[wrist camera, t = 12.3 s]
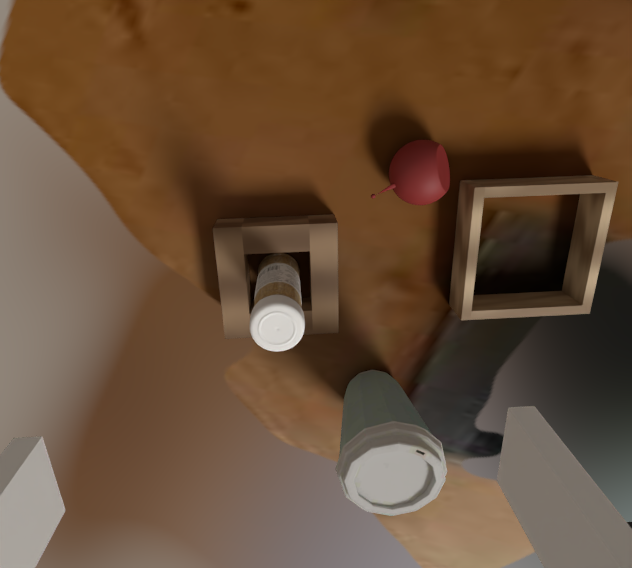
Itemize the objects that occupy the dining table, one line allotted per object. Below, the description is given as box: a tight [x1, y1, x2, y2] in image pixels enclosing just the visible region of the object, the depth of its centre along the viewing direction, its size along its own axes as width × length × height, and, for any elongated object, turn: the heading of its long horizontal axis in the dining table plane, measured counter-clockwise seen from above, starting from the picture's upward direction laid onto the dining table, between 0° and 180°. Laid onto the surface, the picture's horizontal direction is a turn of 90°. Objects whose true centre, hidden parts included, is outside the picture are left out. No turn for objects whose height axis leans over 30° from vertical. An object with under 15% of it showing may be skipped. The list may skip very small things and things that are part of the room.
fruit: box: [371, 140, 450, 205], centre depth 45 cm, size 6×6×8 cm
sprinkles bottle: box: [250, 253, 305, 352], centre depth 44 cm, size 5×5×13 cm
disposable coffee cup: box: [336, 370, 447, 516], centre depth 50 cm, size 11×11×15 cm
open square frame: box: [449, 175, 618, 320], centre depth 49 cm, size 14×14×4 cm
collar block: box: [213, 214, 339, 339], centre depth 49 cm, size 12×12×4 cm
